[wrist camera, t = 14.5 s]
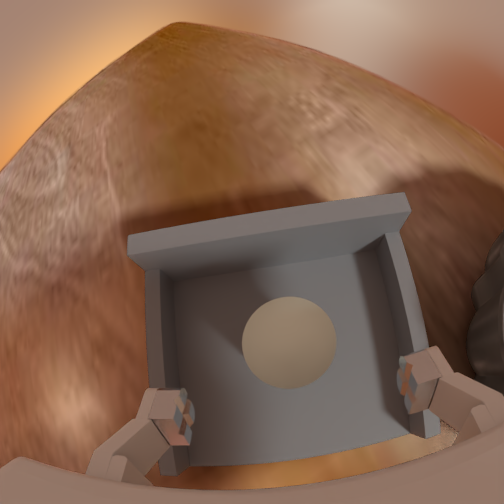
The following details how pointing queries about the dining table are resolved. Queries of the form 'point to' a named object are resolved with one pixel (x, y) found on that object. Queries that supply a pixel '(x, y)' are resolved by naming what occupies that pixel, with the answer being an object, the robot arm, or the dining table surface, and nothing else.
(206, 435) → the grey open tray
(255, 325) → the dome-topped cream cylinder
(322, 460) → the dining table surface
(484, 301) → the bundt pan
